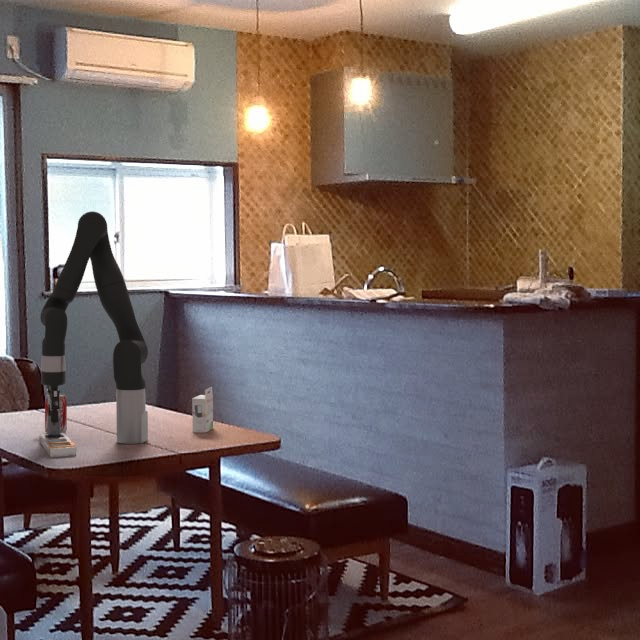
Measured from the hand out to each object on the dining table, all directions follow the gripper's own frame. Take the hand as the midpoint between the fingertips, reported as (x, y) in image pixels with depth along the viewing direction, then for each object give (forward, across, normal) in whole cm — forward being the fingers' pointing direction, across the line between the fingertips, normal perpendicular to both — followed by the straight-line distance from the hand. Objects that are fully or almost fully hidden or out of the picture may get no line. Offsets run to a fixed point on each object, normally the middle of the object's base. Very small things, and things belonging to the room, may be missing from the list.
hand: (53, 420), depth 319 cm
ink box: (+7, +7, -51) cm, 52 cm away
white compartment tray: (+7, -9, -1) cm, 12 cm away
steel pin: (+8, -1, 0) cm, 8 cm away
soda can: (+8, +18, -3) cm, 20 cm away
